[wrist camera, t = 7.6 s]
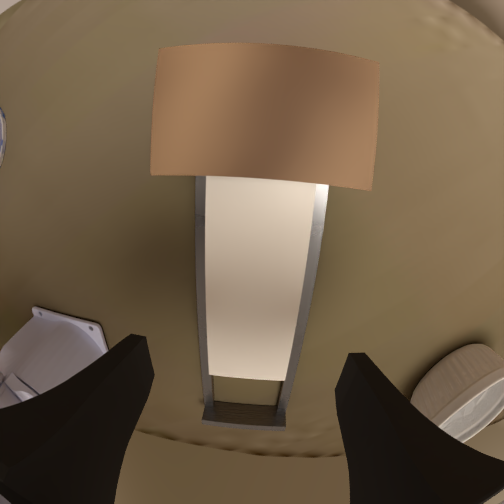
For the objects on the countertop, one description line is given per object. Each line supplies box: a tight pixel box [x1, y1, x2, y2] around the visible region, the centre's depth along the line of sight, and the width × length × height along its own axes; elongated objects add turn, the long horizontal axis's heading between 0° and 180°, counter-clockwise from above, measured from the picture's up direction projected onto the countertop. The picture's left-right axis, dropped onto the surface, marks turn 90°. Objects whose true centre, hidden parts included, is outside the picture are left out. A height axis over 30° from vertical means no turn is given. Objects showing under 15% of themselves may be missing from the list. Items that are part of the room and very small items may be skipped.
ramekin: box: [410, 344, 504, 443], centre depth 19 cm, size 13×13×7 cm
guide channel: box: [195, 176, 329, 431], centre depth 18 cm, size 8×22×2 cm, turn 177°
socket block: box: [151, 43, 379, 191], centre depth 11 cm, size 8×5×7 cm, turn 87°
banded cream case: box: [205, 176, 316, 381], centre depth 15 cm, size 5×14×5 cm, turn 177°
